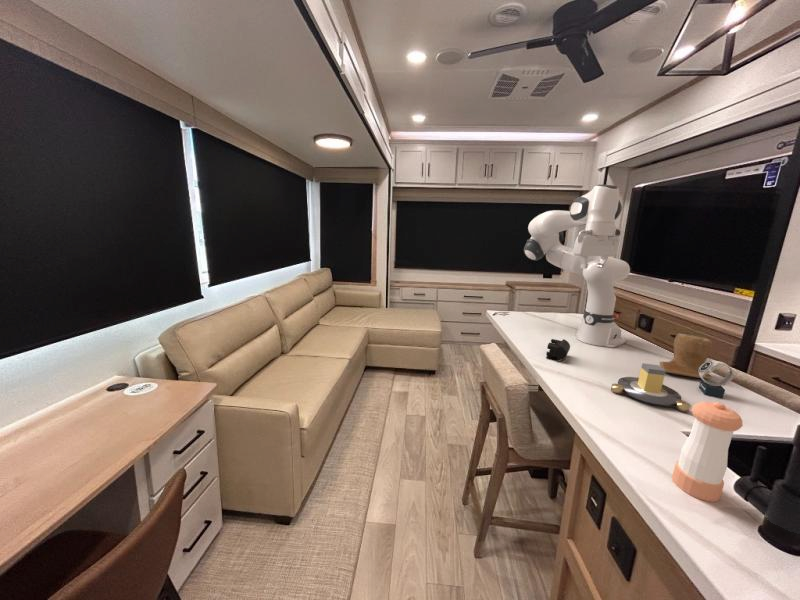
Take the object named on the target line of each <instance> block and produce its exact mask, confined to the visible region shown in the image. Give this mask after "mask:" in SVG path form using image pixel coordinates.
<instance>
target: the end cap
mask: <svg viewBox="0 0 800 600" xmlns="http://www.w3.org/2000/svg"><path fill="white" fill-rule="evenodd" d="M570 348H571V345H570V343H569V341H567V339H564V338H563V339H562V340H559V339H556V338H555V339H554V338H551V339H550V342H548V343H547V347H546V349H547V350H548V351H546V356H545V359H546V360H551V361H555V362H562V361H563V360H565V358H567V355H568V353H569V352H570Z"/></svg>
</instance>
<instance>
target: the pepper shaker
mask: <svg viewBox="0 0 800 600" xmlns="http://www.w3.org/2000/svg"><path fill="white" fill-rule="evenodd" d="M691 413H692V415H693V417H694V421H693V424H692V428H691V431H690V434H689V435H688V437H687V439H686V440H685V442H684V443H683V446H682V448H681V451H680V456H679V459H678V460H677V461H676V462H675V464H674V468H673V472H672V476H671V480H672V482H673V483H674V484H675V485H676V487H678V488H679V489H680V490H682V491H683V492H685V493H686V494H688V495H690V496H692V497H694V498H695V499H699V500H701V501H704V502H705V501H706V502H709V503H710V502H718V501H719V500H720V498H721V495H722V492H723V488H724V485H725V481H724V480H723V479H724V476H725V474H726V473H727V472H726V471H727V468H728V459H729V457H728V456H729V447H730V444H731V443H732V442H731V441H732V438H733V435H734V432H736V431H738V430H740V429H741V428H742V427H743V425H744V424H743V419H742V417H741V416H740V414H739V413H738V412H736V411H735V410H733V409H731V408H729V406H728V407H727V405H725V404H724V403H721V402H717V401H715V402H713V401H699V402H697V403H695V404H693V405H692V407H691Z"/></svg>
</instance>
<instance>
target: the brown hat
mask: <svg viewBox="0 0 800 600" xmlns="http://www.w3.org/2000/svg"><path fill="white" fill-rule="evenodd" d="M712 350H713V341H712V340H710V339H708V338H705V337H701V336H696V335H691V334H685V333H678V334H676V336H675V338H674V340H673V357H672V359H671V360H670V361H664V360H662V361H659V366H660V367H661V368H663V369H664V370H665V371H666V372H665V373H667V374H668V373H669V374H673V375H679V376H683V377H684V376H685V377H690V378H698V379H702V378H701V377H700V375H699V371H698V369H699V367H700V366H701V365H702V364H703V363H705V362H707V359H708V358H709V357H710V355H711V353H712ZM710 374H711V373H709V374H706V375H705V376H704V377H703V379H704V380H711V379H712V376H711V375H710Z"/></svg>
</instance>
